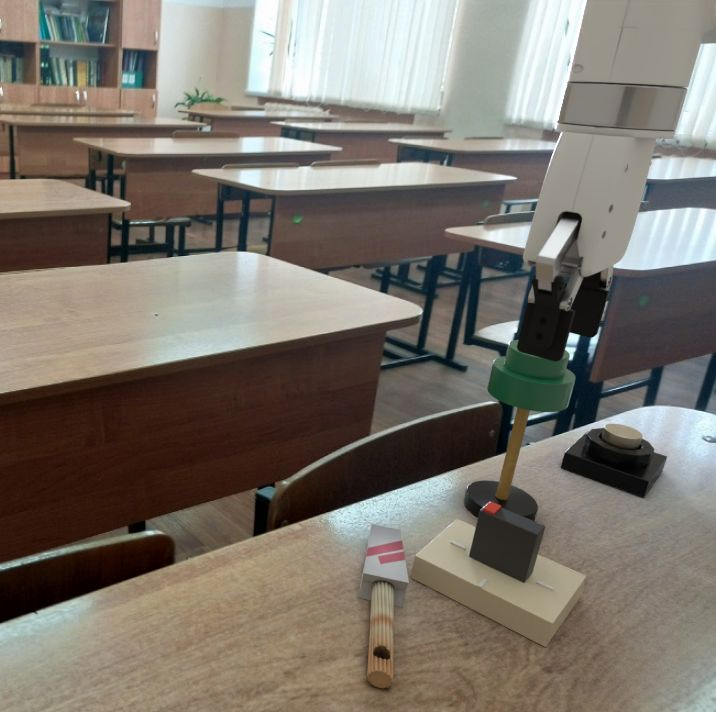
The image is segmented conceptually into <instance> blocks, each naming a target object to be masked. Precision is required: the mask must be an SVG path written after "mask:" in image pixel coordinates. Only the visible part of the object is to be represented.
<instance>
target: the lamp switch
mask: <svg viewBox="0 0 716 712" xmlns="http://www.w3.org/2000/svg"><path fill="white" fill-rule="evenodd" d="M603 429H604V427H597V428H591V429H590V430H586V431H585V432H584V433H583V434H582V435H580V437H579V438H578V439H577V440H576V441H575V442H574V443H573V444H572V445H570V446H569V448H568V449H567V450H565V452H564V453H563V457H562V461H561V464H560V469H563V470H566V471H568V472H570V473H574V474H576V475H579V476H582V477H584V478H587V479H590V480H593V481H596V482H598V483H601V484H604V485H606V486H609V487H612V488H615V489H618V490H620V491H623V492H625V493H629V494H632V495H634V496H637V497H640V498H643V499H644V498H645V497H646V495H647V494H648V493H649V491H650V490H651V488H652V487H653V485H654V484H655V483H656V481H657V480H658V479H659V477H660V476H661V474H662V473H663V471H664V467H665V465H666V463H667V460H668V456H667V455H664V454H661V453H658V452H655V447H653V446H652V444H651V442H649V441H648V440H646V439H644V438H642V440H641V443H640V446H639V449H638V450H625V449H620V448H617V447H614V446H610V445H608V444H607V443H605V442H603V441H601V436H602V433H603Z"/></svg>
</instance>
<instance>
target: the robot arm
mask: <svg viewBox="0 0 716 712" xmlns="http://www.w3.org/2000/svg"><path fill="white" fill-rule="evenodd" d="M578 23H579V25H578V27H577V28H578V29H577V32H576V37H575V41H574V46H573V49H572V55H571V59H570V63H569V65H568V71H567V75H566V81H565V84H564V87H563V91H562V96H561V101H560V104H559V109H558V112H557V117H556V122H555V127H554V131H558V132H561V133H560V135H559V138H558V140H557V142H556V145H555V147H554V149H553V153H552V155H551V158H550V161H549V164H548V167H547V170H546V173H545V176H544V179H543V181H542V182H543V183H542V185H541V189H540V192H539V195H538V200H537V203H536V206H535V210H534V214H533V216H532V221H531V224H530V228H529V232H528V236H527V239H526V241H525V246H524V250H523V255H522V259H523V262H524V264H525V265H526V266H528V267H533V268H534V267H535V275H533V278H532V279H531V284H532V285H531V288H530V290H529V293H528V296H527V303H526V307H525V310H524V314H523V319H522V323H521V328H520V332H519V336H518V339H517V340H518V344H517V349H518V351H519V352H522V353H526V354H529V355H533V356H537V357H540V358H544V359H547V360H551V361H555V362H556V361H559V360H561V359H562V358H563V356H564V352H565V350H566V348H567V344H568V340H569V336H570V334H574V335H578V336H581V337H586V338H591V339H592V338H595V337H596V336H597V335H598V334H599V331H600V326H601V322H602V319H603V316H604V313H605V308H606V304H607V301H608V298H609V294H610V290H608V289H609V288H610V286H611V284H612V281H613V273H614V265H616V264H617V263H620V262H621V261H622V259H624V256H625V254H626V252H627V250H628V247H629V244H630V241H631V238H632V235H633V232H634V229H635V226H636V222H637V218H638V214H639V211H640V208H641V204H642V200H643V196H644V193H645V188H646V184H647V180H648V176H649V172H650V168H651V166H652V163H653V162H652V159H653V154H654V151H655V146H656V141H657V140H660V139H663V140H673V139H674V137H675V135H676V130H677V128H678V124H679V121H680V117H681V115H682V111H683V108H684V104H685V101H686V97H687V94H688V88H689V86H690V82H691V79H692V76H693V72H694V70H695V65H696V62H697V58H698V55H699V51H700V48H701V45H708V44H710V45H711V44H716V0H584V2H583V6H582V10H581V15H580V19H579V22H578ZM562 263H565V264H562ZM568 264H570V265H568ZM565 279H566V280H568V281H567V282H566V281H565Z"/></svg>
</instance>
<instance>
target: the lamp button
mask: <svg viewBox="0 0 716 712" xmlns="http://www.w3.org/2000/svg"><path fill="white" fill-rule="evenodd" d="M603 428H604V429H603V433H602V436H601V441H603V442H605V443H607V444H608V445H610V446H614V447H617V448H620V449H625V450H638V449H639V446H640V443H641V440H642V439H643V433H642V432H641V431H640V430H638V429H636V428H634V427H631V426H629V425H625V424H620V423H607V424H605V425H604V426H603Z"/></svg>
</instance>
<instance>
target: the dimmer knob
mask: <svg viewBox="0 0 716 712" xmlns="http://www.w3.org/2000/svg"><path fill="white" fill-rule="evenodd" d="M476 520H477V521H476V525H475V527H476V529H475V533H474V537H473V541H472V545H471V549H470V554H469V557H471V558H473V559H475V560H477V561H479V562H482V563H484V564H486V565H488V566H490V567H492V568H494V569H496V570H499V571H501V572H503V573H505V574H507V575H509V576H511V577H513V578H516V579H518V580H520V581H522V582H525V581H526V580H527V579H528V578H529V577H530V575H531V574H532V573H533V569H534V566H535V562H536V559H537V555H539V551H540V548H541V544H542V540H543V537H544V534H545V530H546V525H544V524H541V523H539V522H536V521H535V520H534V521H532V520H530V519H527V518H525V517H522V516H520V515H518V514H515V513H513V512H510V511H508V510H506V509H503V508H501V505H498V504H496V503H493V502H489V503H488V504H486V505H485V506H484V507H483V508H482V509H481V510H480V512H479V516H478V517H477V519H476Z"/></svg>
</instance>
